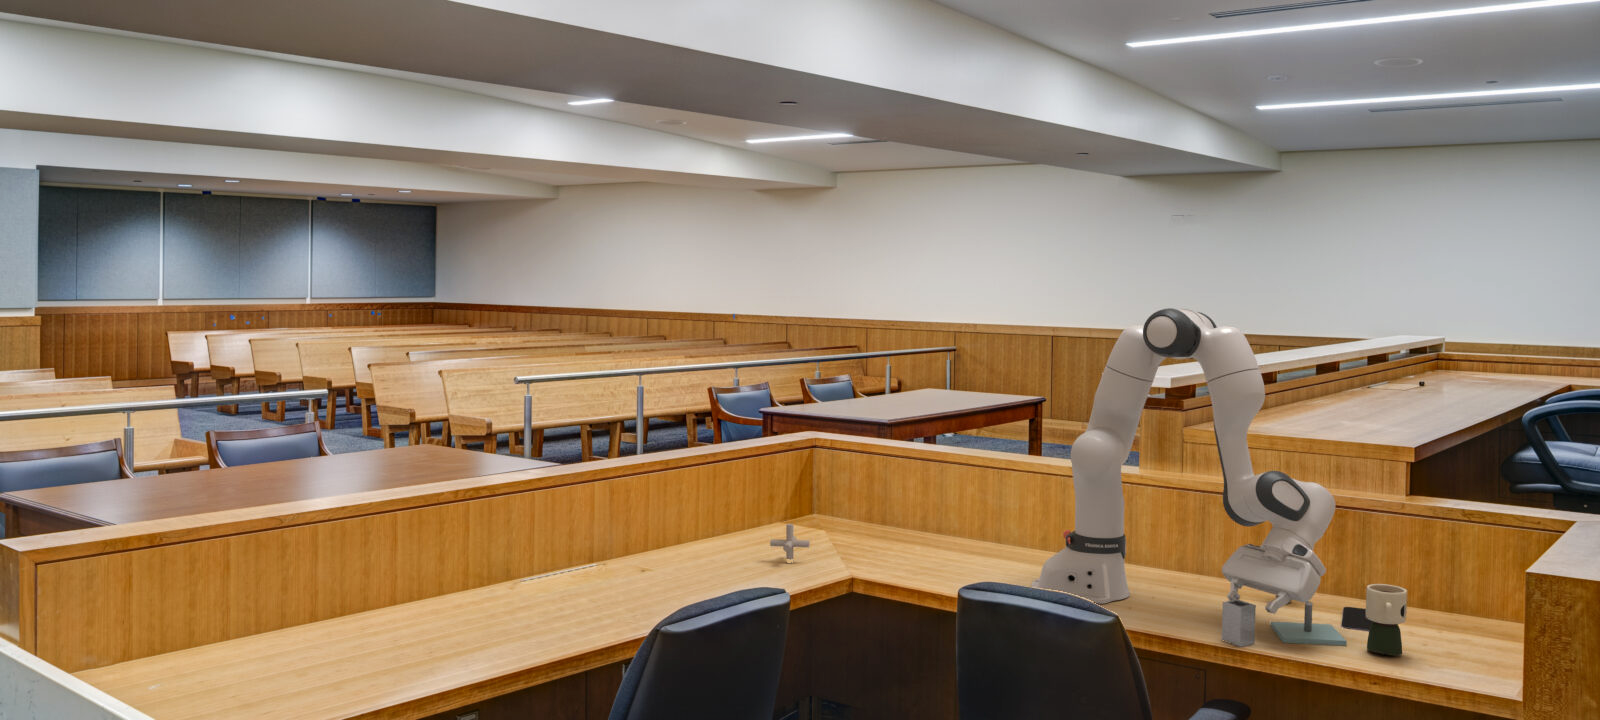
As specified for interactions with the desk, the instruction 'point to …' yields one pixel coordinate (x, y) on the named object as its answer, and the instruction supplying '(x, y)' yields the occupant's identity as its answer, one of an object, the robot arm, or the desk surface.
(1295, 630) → the post base
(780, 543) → the pipe connector
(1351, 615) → the smartphone
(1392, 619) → the character mug
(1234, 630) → the grey hollow box
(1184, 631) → the desk surface
